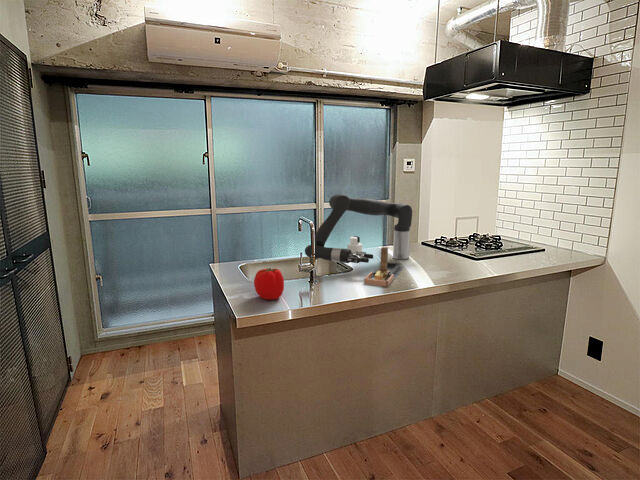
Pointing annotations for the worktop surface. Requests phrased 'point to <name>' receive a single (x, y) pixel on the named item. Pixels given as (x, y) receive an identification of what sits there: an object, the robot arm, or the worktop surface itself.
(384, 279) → the chip
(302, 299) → the worktop surface
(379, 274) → the chip
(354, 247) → the medicine bottle
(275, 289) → the red bell pepper
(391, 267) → the slot bed
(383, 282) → the tray
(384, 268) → the rake
